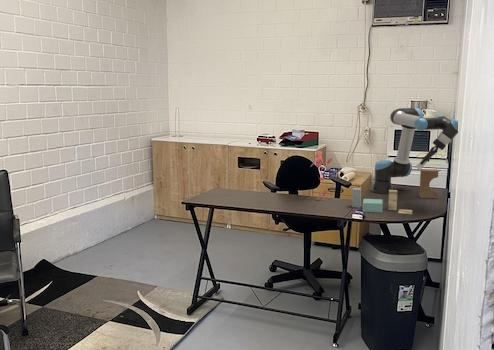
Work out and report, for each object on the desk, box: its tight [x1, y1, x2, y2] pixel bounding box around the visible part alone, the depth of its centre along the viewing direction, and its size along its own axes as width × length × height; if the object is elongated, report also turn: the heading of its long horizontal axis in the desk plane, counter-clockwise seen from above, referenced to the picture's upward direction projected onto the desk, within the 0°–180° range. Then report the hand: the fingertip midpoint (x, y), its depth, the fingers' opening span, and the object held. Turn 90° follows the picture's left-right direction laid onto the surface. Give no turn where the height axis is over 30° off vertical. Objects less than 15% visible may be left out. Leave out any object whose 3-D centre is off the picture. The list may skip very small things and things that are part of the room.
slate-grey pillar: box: [351, 187, 362, 209], centre depth 305 cm, size 5×5×12 cm
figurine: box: [306, 149, 333, 201], centre depth 329 cm, size 15×26×35 cm, turn 146°
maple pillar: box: [387, 189, 398, 211], centre depth 296 cm, size 5×5×12 cm
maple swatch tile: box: [397, 208, 413, 215], centre depth 289 cm, size 8×8×1 cm
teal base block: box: [362, 198, 384, 214], centre depth 296 cm, size 12×12×6 cm
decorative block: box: [418, 168, 440, 200], centre depth 324 cm, size 11×6×20 cm, turn 78°
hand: (418, 168), depth 291 cm, fingers open, 13 cm apart
